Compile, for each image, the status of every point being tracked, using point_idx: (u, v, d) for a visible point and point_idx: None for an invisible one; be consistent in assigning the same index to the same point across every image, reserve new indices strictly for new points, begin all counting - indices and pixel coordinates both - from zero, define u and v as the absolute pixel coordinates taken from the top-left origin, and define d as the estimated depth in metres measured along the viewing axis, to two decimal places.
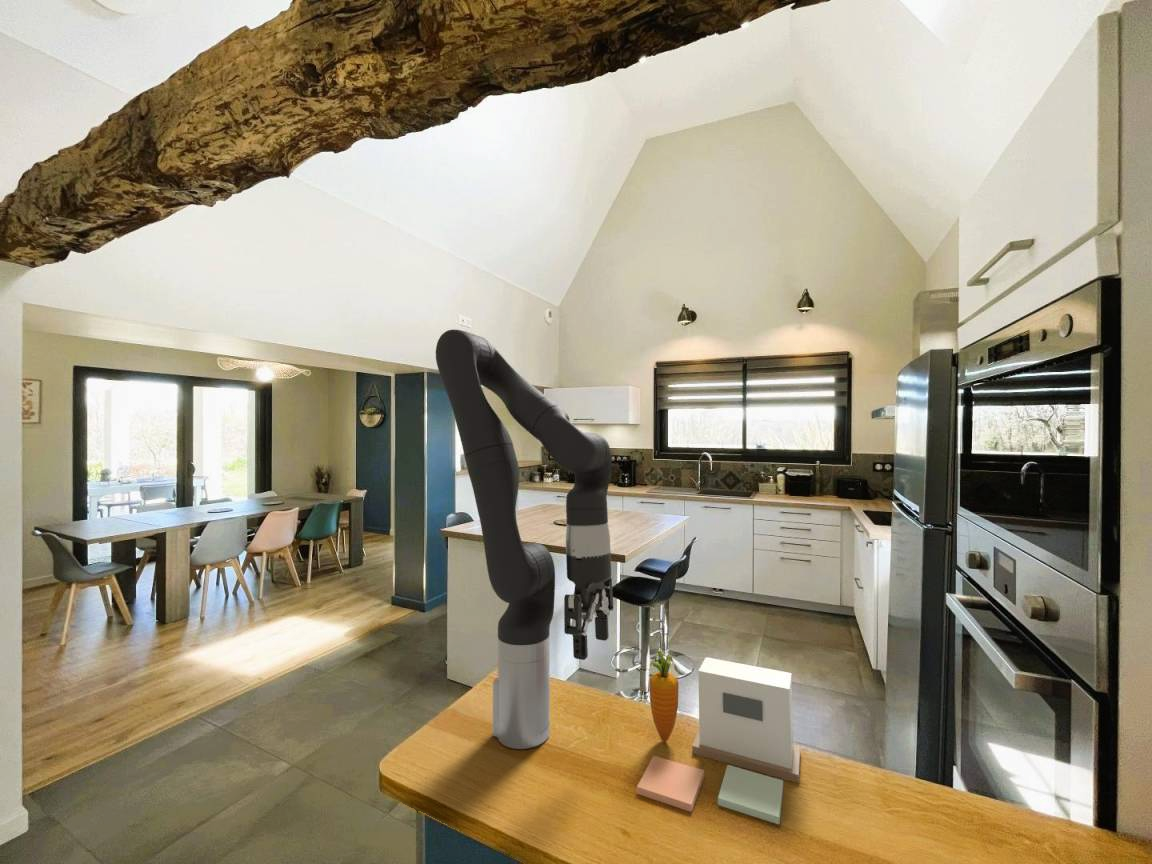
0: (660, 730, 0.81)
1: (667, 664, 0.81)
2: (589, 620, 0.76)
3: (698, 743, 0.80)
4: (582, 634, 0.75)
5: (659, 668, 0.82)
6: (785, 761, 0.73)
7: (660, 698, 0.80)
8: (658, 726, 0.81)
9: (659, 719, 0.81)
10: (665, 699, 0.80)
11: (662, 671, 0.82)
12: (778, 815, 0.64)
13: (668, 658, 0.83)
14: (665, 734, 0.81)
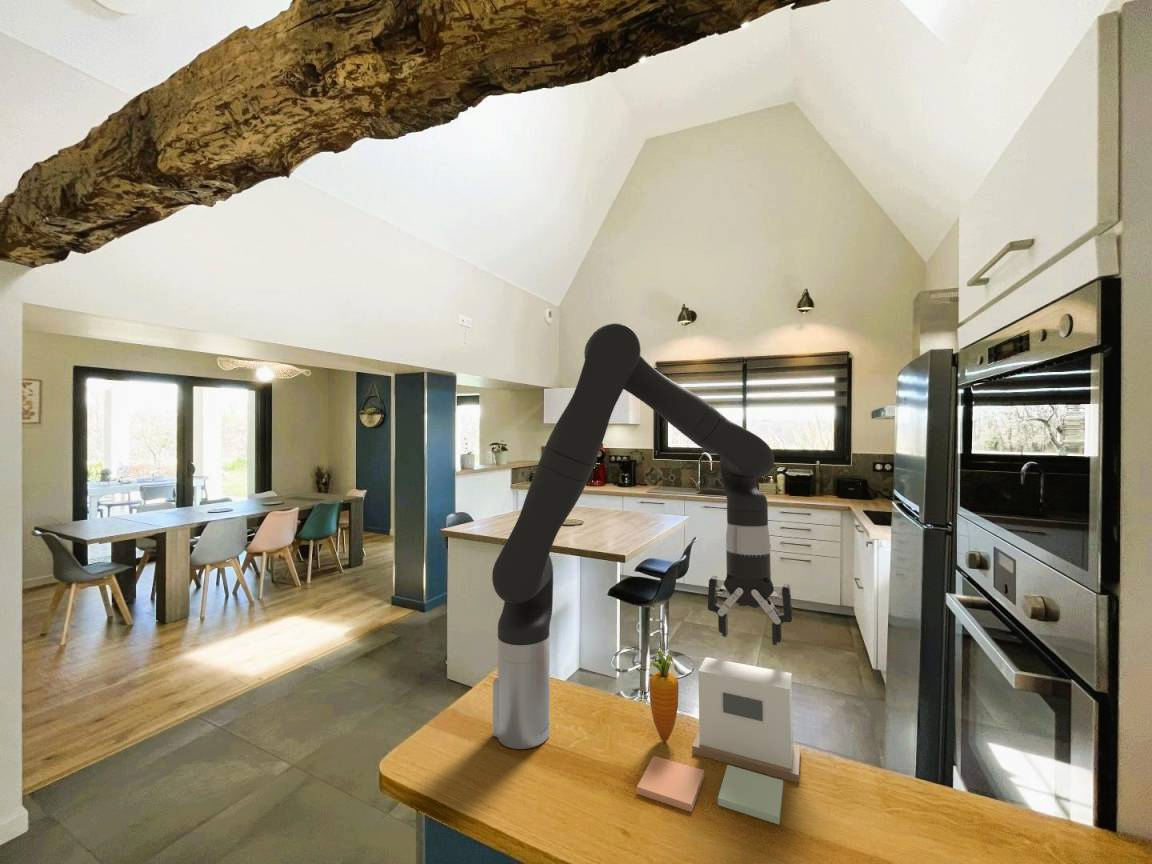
0: (660, 730, 0.81)
1: (667, 664, 0.81)
2: None
3: (698, 743, 0.80)
4: None
5: (659, 668, 0.82)
6: (785, 761, 0.73)
7: (660, 697, 0.80)
8: (658, 726, 0.81)
9: (659, 719, 0.81)
10: (665, 699, 0.80)
11: (662, 671, 0.82)
12: (778, 815, 0.64)
13: (668, 658, 0.83)
14: (665, 734, 0.81)
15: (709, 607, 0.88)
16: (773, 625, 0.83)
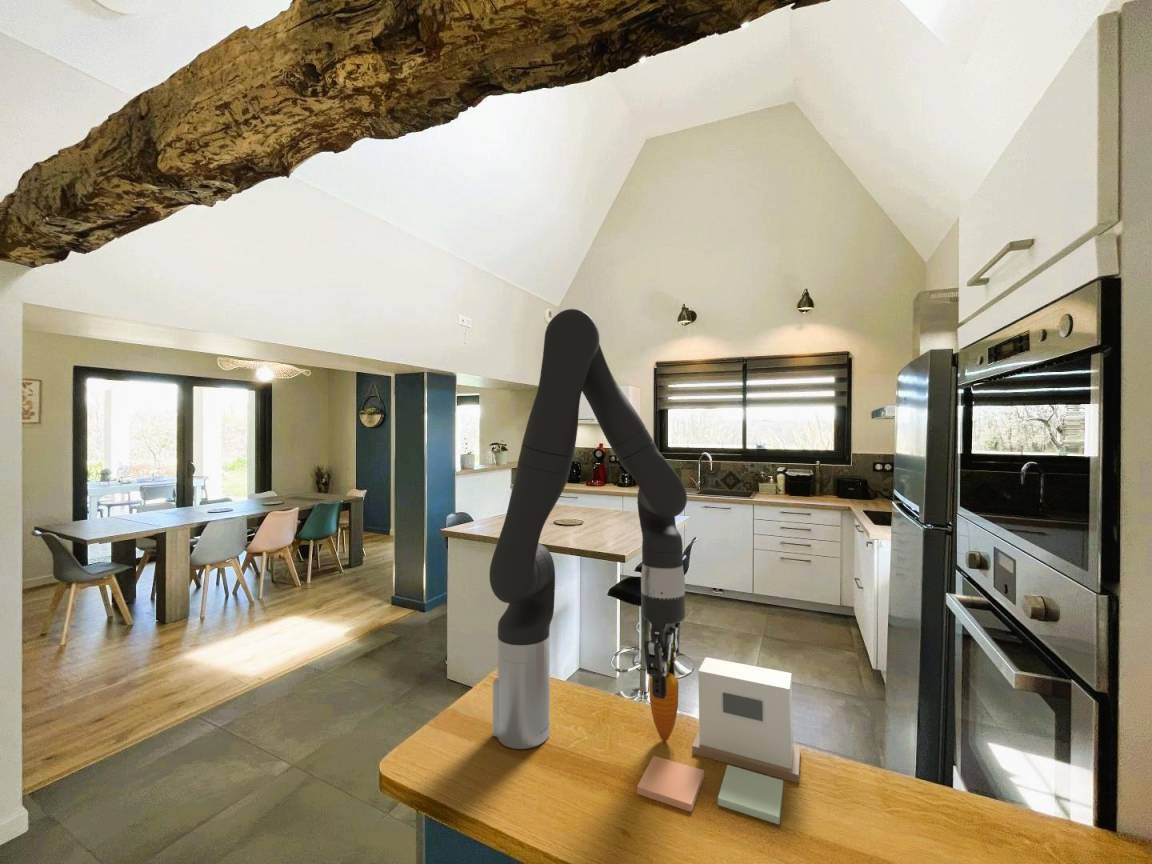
0: (660, 730, 0.81)
1: (667, 664, 0.81)
2: None
3: (698, 743, 0.80)
4: None
5: None
6: (785, 761, 0.73)
7: (660, 698, 0.80)
8: (658, 726, 0.81)
9: (659, 719, 0.81)
10: (665, 699, 0.80)
11: None
12: (778, 815, 0.64)
13: None
14: (665, 734, 0.81)
15: (661, 674, 0.77)
16: (673, 664, 0.84)
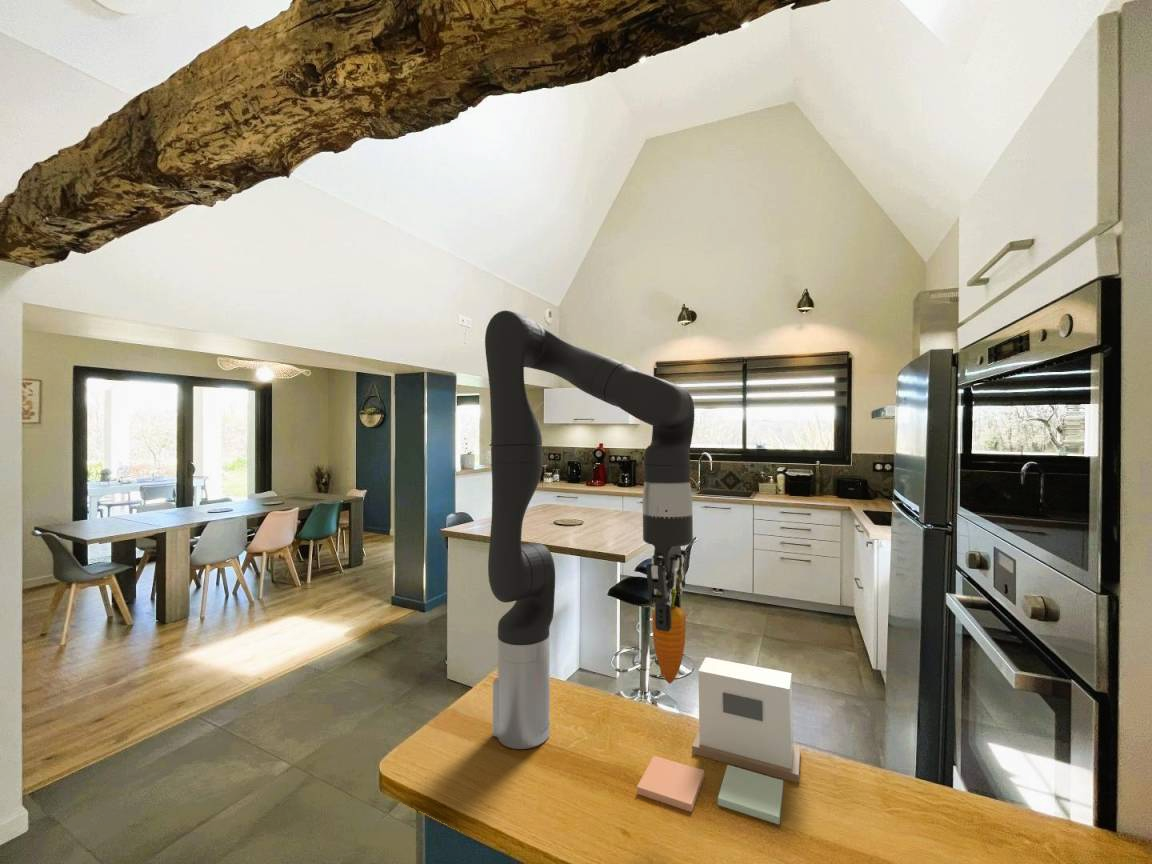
0: (665, 669, 0.71)
1: (673, 593, 0.71)
2: None
3: (698, 743, 0.80)
4: None
5: None
6: (785, 761, 0.73)
7: (665, 631, 0.70)
8: (662, 664, 0.71)
9: (664, 656, 0.71)
10: (670, 633, 0.70)
11: None
12: (778, 815, 0.64)
13: (674, 589, 0.73)
14: (670, 673, 0.71)
15: (666, 601, 0.67)
16: (679, 597, 0.74)
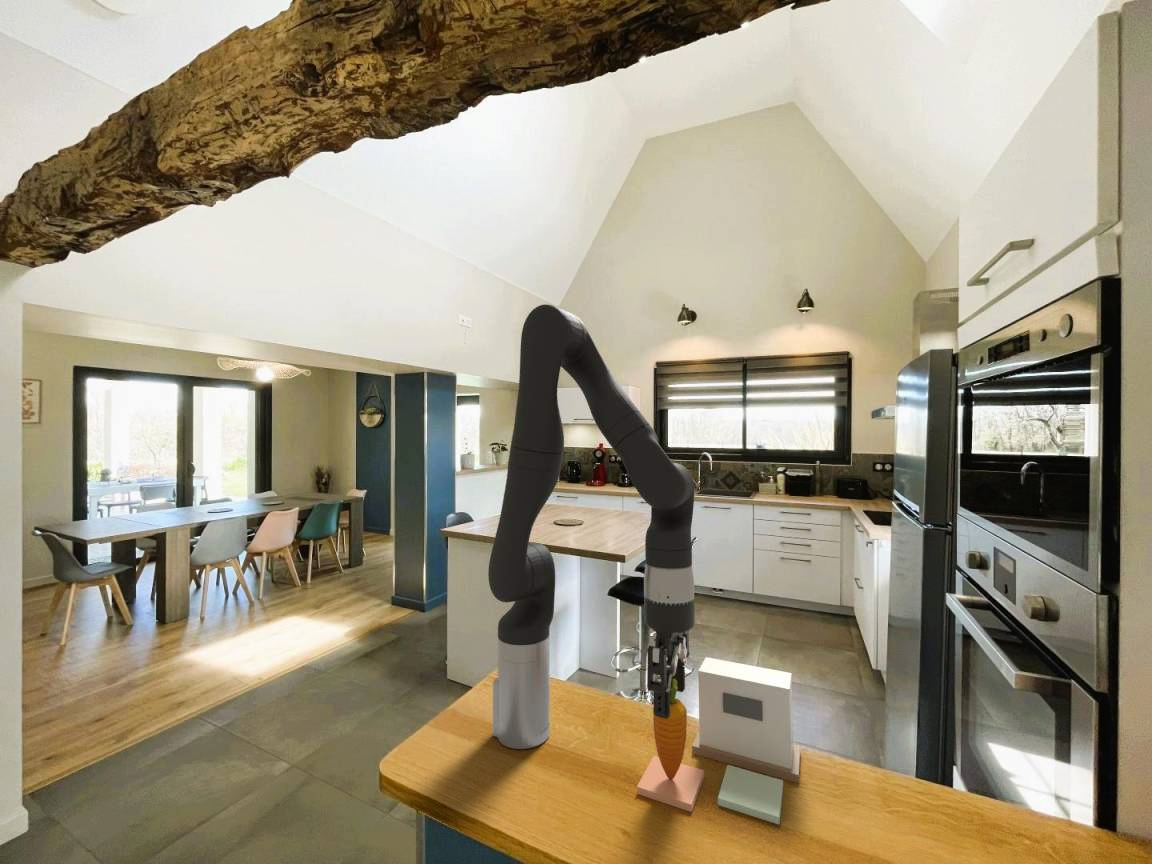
0: (666, 766, 0.70)
1: (674, 690, 0.70)
2: None
3: (698, 743, 0.80)
4: None
5: None
6: (785, 761, 0.73)
7: (666, 729, 0.69)
8: (664, 761, 0.70)
9: (665, 754, 0.70)
10: (671, 731, 0.69)
11: None
12: (778, 815, 0.64)
13: (675, 682, 0.72)
14: (672, 770, 0.70)
15: (665, 689, 0.66)
16: (683, 669, 0.75)
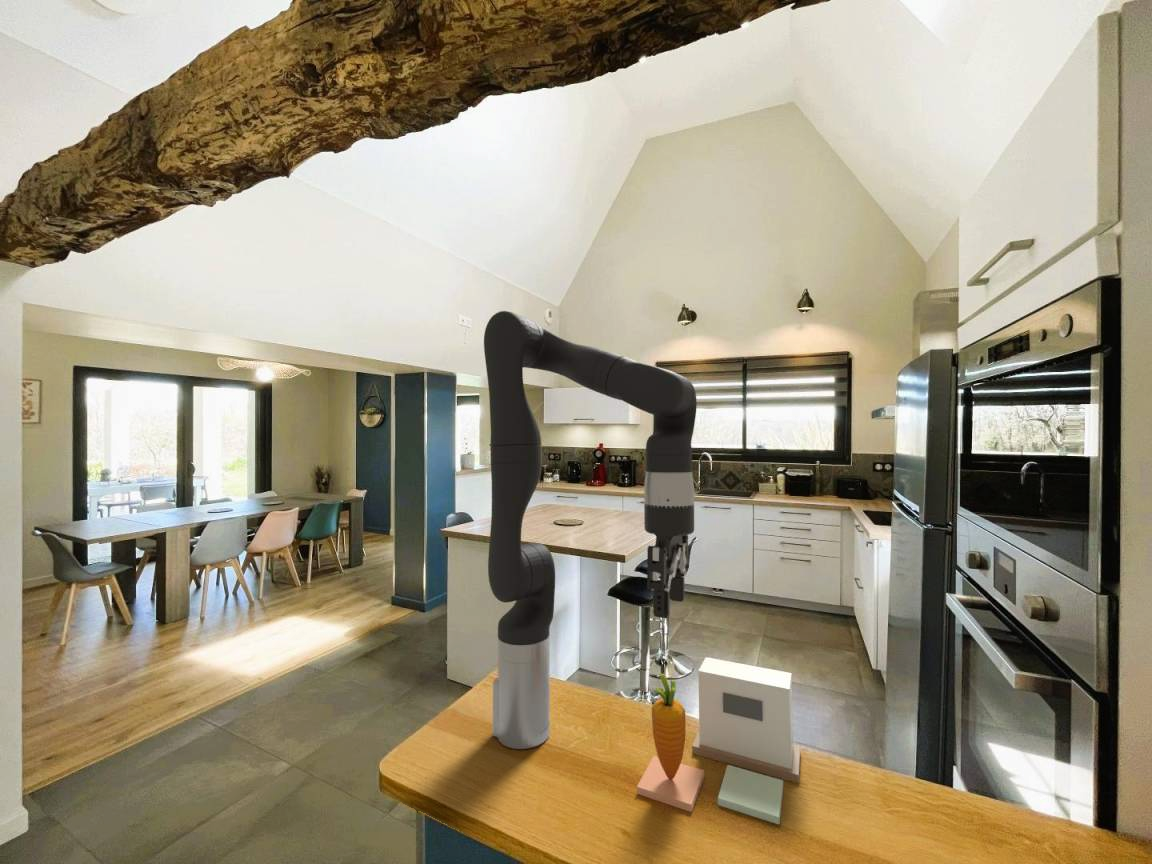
0: (665, 767, 0.70)
1: (672, 692, 0.69)
2: None
3: (698, 743, 0.80)
4: None
5: (663, 696, 0.70)
6: (785, 761, 0.73)
7: (665, 730, 0.69)
8: (663, 762, 0.70)
9: (664, 755, 0.70)
10: (670, 732, 0.69)
11: (666, 699, 0.71)
12: (778, 815, 0.64)
13: (673, 683, 0.71)
14: (671, 771, 0.70)
15: (664, 586, 0.66)
16: (683, 579, 0.76)
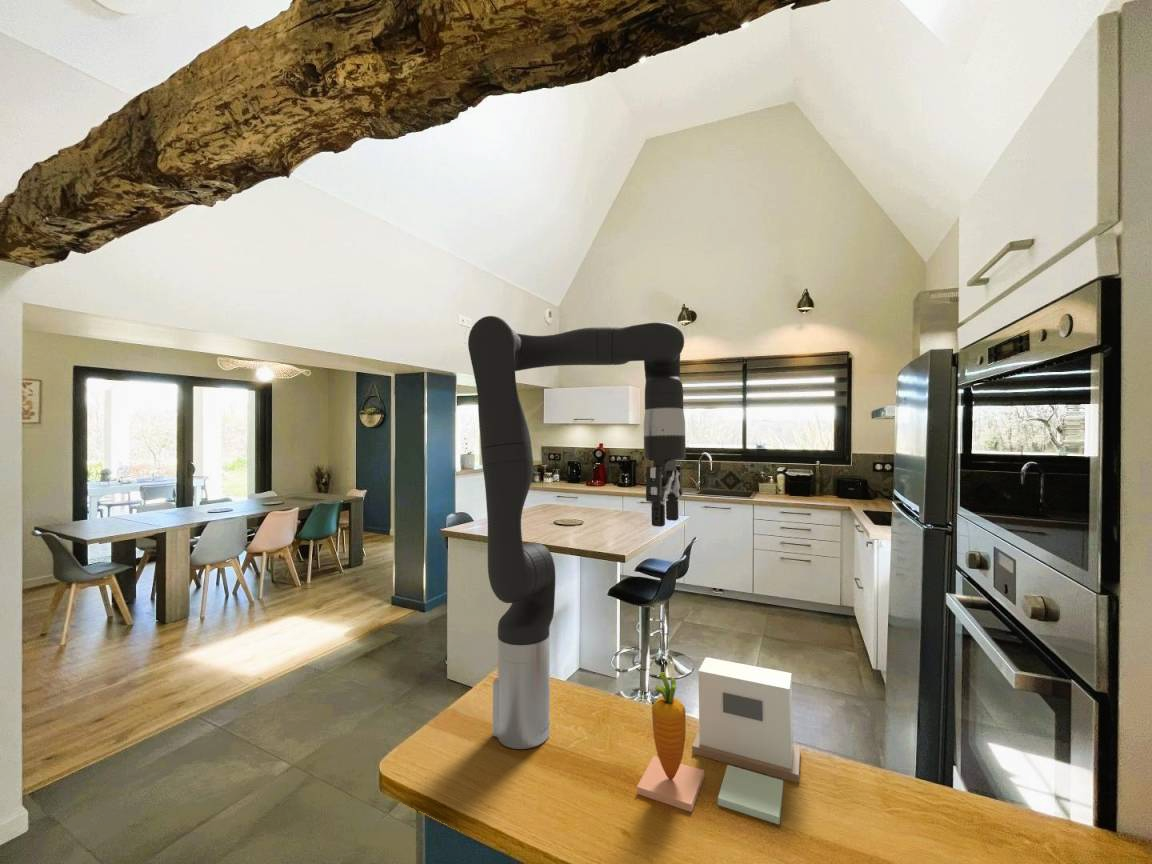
0: (666, 766, 0.70)
1: (672, 689, 0.70)
2: None
3: (698, 743, 0.80)
4: None
5: (663, 693, 0.71)
6: (785, 761, 0.73)
7: (665, 728, 0.70)
8: (663, 761, 0.70)
9: (664, 754, 0.70)
10: (670, 730, 0.69)
11: (666, 697, 0.72)
12: (778, 815, 0.64)
13: (673, 681, 0.72)
14: (671, 770, 0.70)
15: (660, 498, 0.80)
16: (677, 501, 0.90)
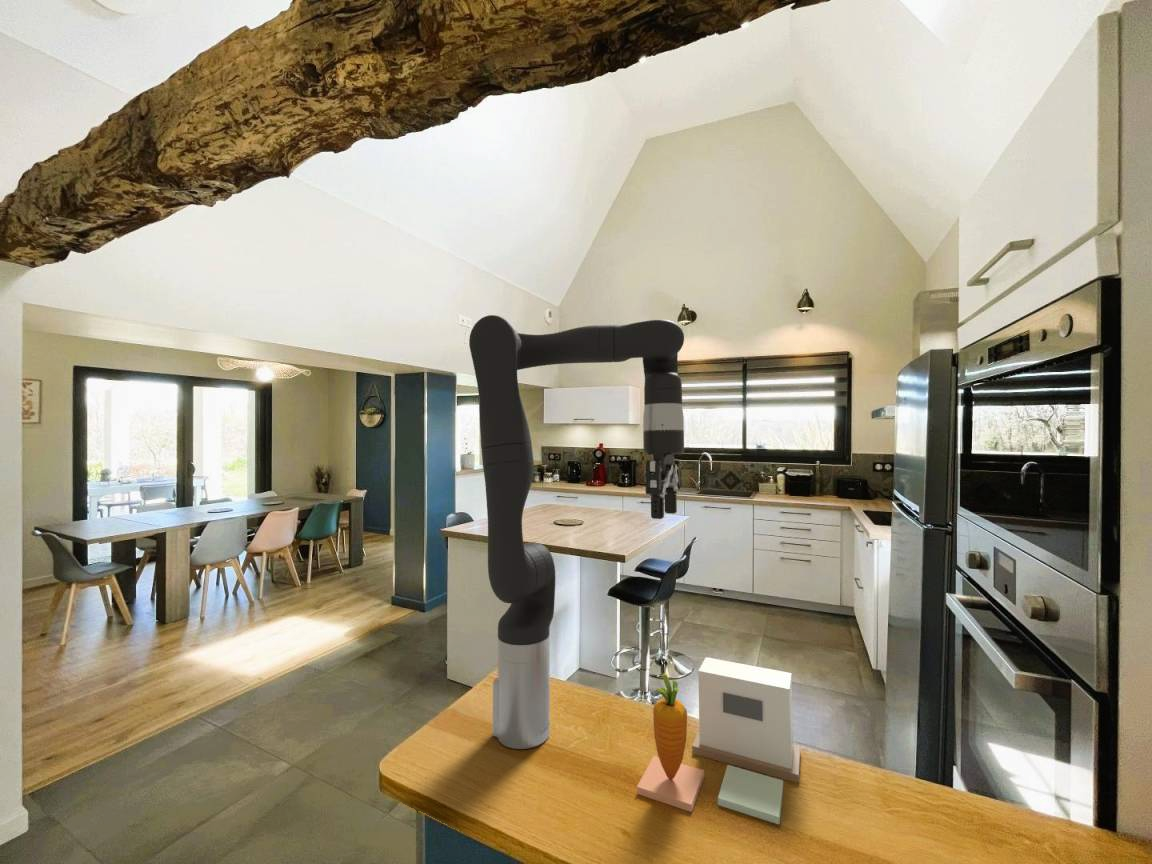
0: (666, 767, 0.70)
1: (674, 692, 0.69)
2: None
3: (698, 743, 0.80)
4: None
5: (665, 696, 0.70)
6: (785, 761, 0.73)
7: (667, 730, 0.69)
8: (664, 762, 0.70)
9: (665, 755, 0.70)
10: (671, 732, 0.69)
11: (668, 699, 0.71)
12: (778, 815, 0.64)
13: (675, 683, 0.72)
14: (672, 771, 0.70)
15: (659, 491, 0.82)
16: (675, 495, 0.92)
